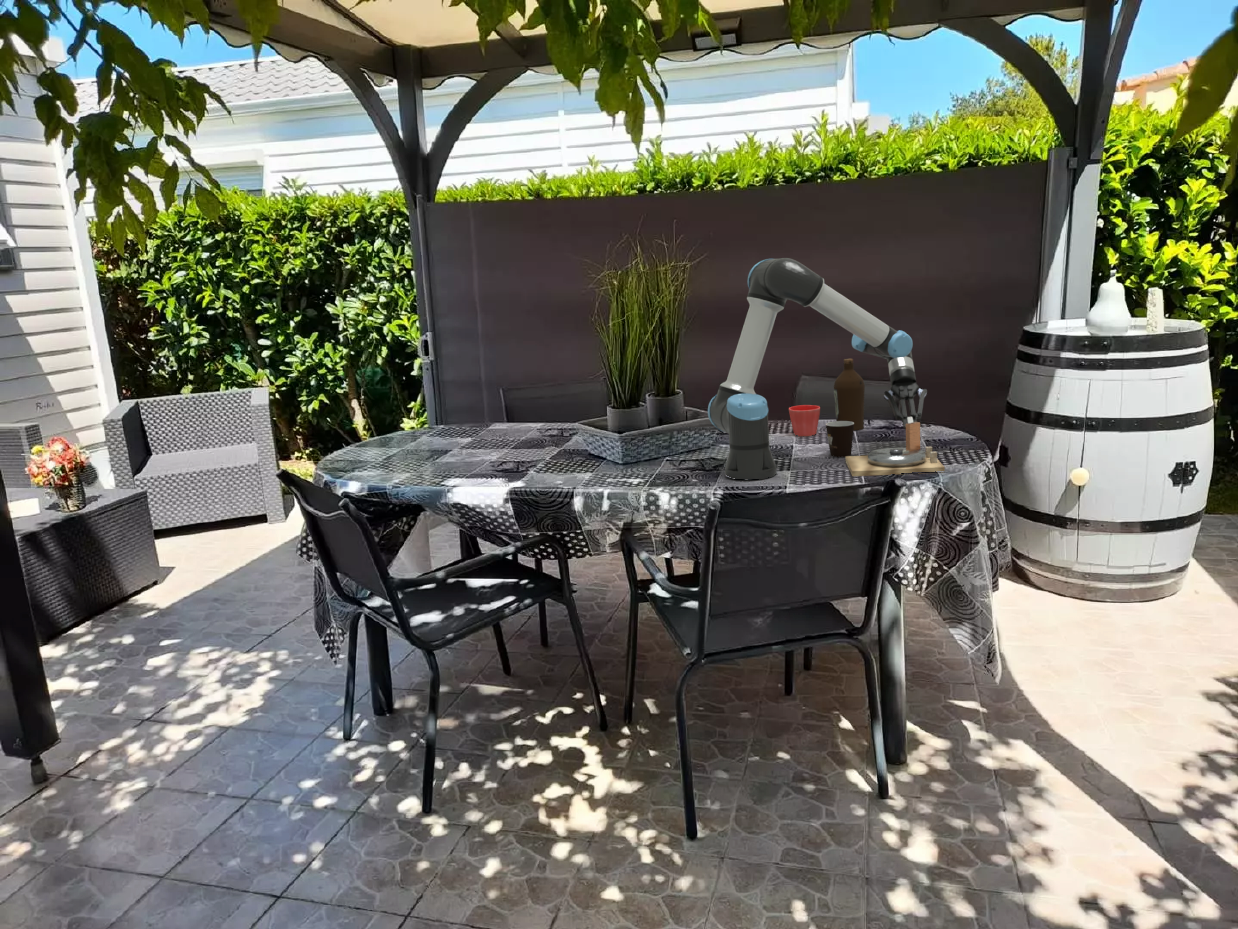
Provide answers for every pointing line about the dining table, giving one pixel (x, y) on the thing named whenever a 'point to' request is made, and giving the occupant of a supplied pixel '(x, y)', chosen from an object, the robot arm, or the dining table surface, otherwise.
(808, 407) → the flower pot
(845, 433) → the coffee mug
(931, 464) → the tan record player
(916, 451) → the disc
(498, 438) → the dining table surface
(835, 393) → the olive oil
